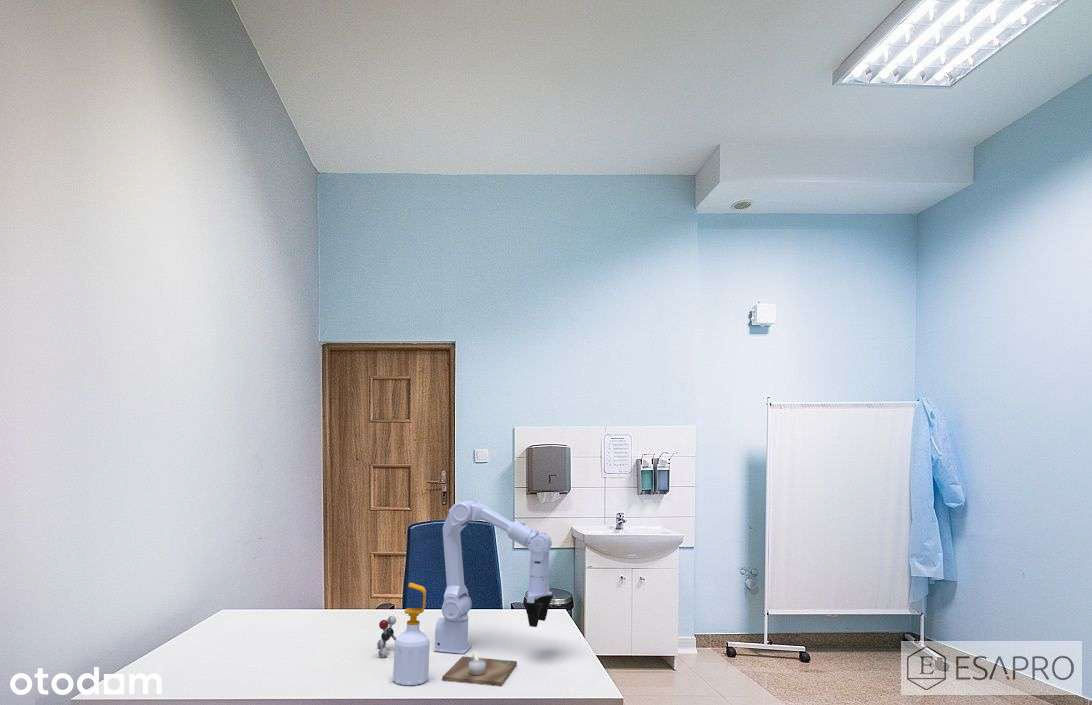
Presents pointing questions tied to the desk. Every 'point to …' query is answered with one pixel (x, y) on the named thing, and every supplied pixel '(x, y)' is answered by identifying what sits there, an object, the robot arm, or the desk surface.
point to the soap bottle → (412, 649)
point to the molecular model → (386, 635)
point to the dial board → (493, 675)
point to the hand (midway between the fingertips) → (537, 623)
